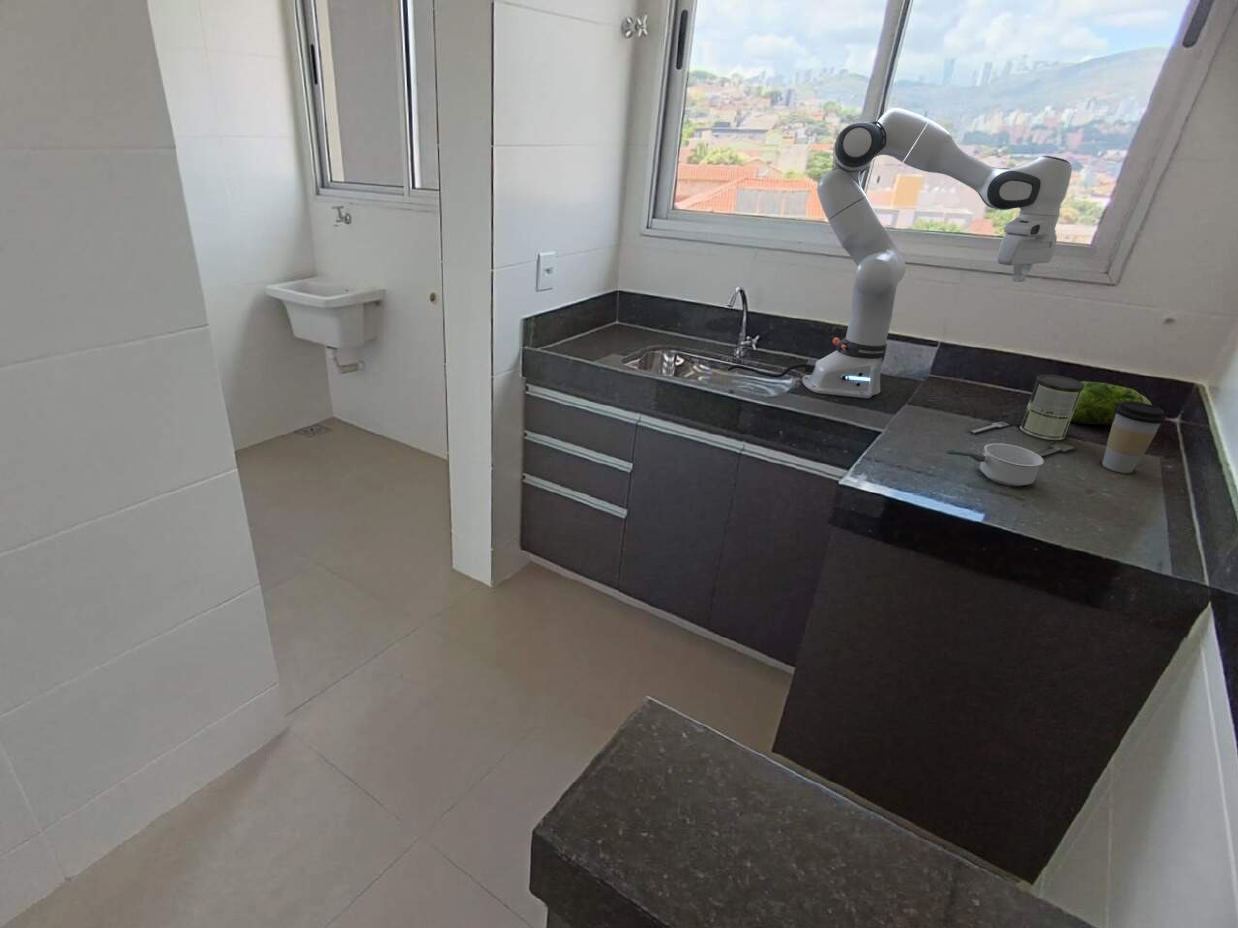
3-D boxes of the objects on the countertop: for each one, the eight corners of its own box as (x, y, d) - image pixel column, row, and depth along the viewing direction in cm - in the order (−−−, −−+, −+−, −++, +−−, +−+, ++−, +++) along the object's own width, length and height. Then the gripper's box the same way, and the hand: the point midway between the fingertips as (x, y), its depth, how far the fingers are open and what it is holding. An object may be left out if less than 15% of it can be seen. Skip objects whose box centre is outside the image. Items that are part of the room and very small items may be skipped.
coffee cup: (1144, 468, 152) (1171, 408, 146) (1138, 481, 146) (1166, 418, 140) (1097, 455, 158) (1121, 396, 152) (1089, 466, 152) (1113, 406, 145)
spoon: (1041, 460, 153) (1042, 457, 153) (1028, 455, 156) (1029, 452, 156) (1072, 449, 160) (1073, 447, 160) (1059, 444, 163) (1060, 442, 163)
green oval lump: (1153, 436, 172) (1171, 395, 167) (1071, 428, 174) (1087, 388, 169) (1127, 419, 182) (1144, 381, 177) (1050, 413, 184) (1064, 374, 179)
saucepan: (930, 461, 149) (936, 439, 147) (1017, 467, 149) (1025, 444, 147) (951, 485, 139) (959, 461, 136) (1046, 490, 139) (1055, 467, 136)
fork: (976, 435, 166) (977, 433, 166) (967, 431, 168) (968, 429, 167) (1009, 425, 173) (1010, 424, 173) (1001, 422, 175) (1001, 420, 175)
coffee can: (1011, 423, 174) (1028, 373, 168) (1050, 426, 175) (1068, 375, 168) (1032, 439, 165) (1052, 386, 159) (1073, 441, 165) (1094, 388, 159)
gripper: (1044, 224, 176) (1028, 277, 182) (1001, 225, 166) (985, 281, 172) (1069, 227, 171) (1051, 281, 177) (1026, 228, 161) (1008, 285, 167)
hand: (1018, 281), depth 174 cm, fingers closed
